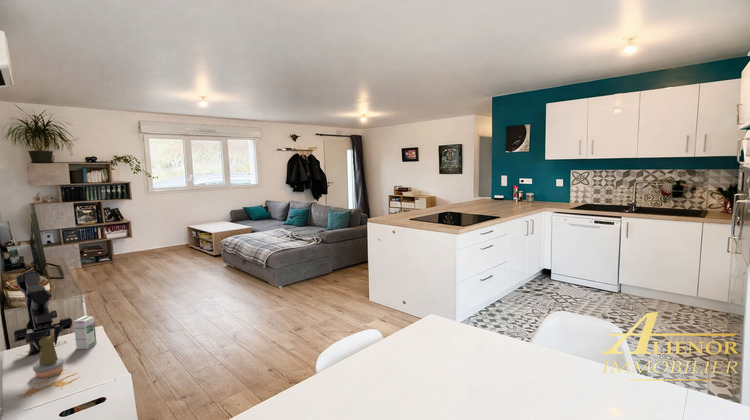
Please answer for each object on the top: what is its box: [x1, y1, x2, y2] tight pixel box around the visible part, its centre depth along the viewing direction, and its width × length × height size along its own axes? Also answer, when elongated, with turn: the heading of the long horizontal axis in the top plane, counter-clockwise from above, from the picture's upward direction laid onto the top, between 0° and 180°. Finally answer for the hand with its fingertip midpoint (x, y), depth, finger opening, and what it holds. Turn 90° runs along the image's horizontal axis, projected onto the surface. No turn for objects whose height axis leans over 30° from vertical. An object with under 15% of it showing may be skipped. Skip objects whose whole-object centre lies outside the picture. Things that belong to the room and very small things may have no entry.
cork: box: [38, 335, 59, 365], centre depth 157 cm, size 6×6×11 cm
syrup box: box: [73, 315, 97, 350], centre depth 180 cm, size 6×6×14 cm
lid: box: [32, 357, 65, 373], centre depth 157 cm, size 10×10×1 cm
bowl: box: [34, 363, 64, 379], centre depth 157 cm, size 9×9×3 cm
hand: (47, 347), depth 155 cm, fingers closed on cork, 5 cm apart
